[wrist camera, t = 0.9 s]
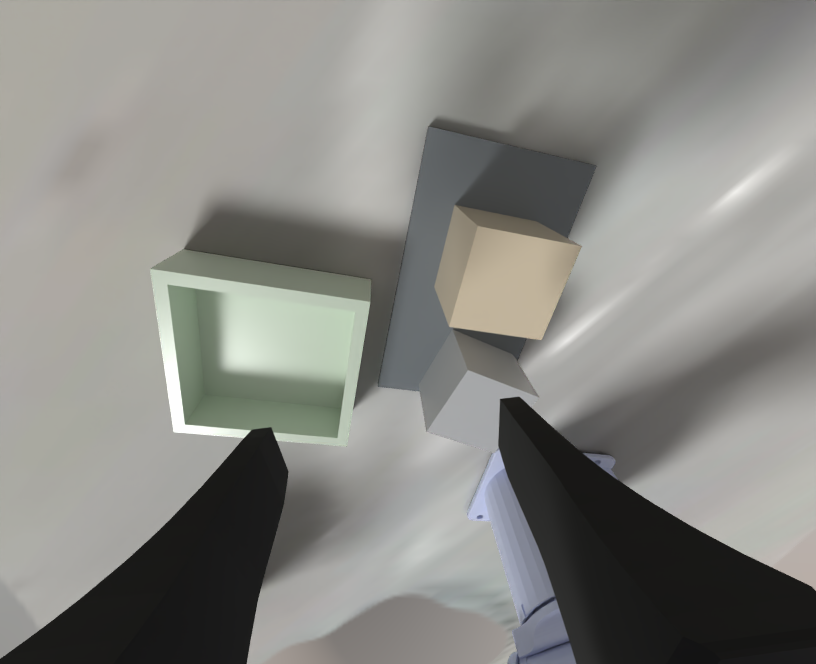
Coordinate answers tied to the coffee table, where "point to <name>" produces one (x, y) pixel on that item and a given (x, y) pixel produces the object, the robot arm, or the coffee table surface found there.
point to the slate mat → (430, 218)
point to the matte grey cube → (471, 390)
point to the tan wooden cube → (502, 273)
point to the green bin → (260, 346)
